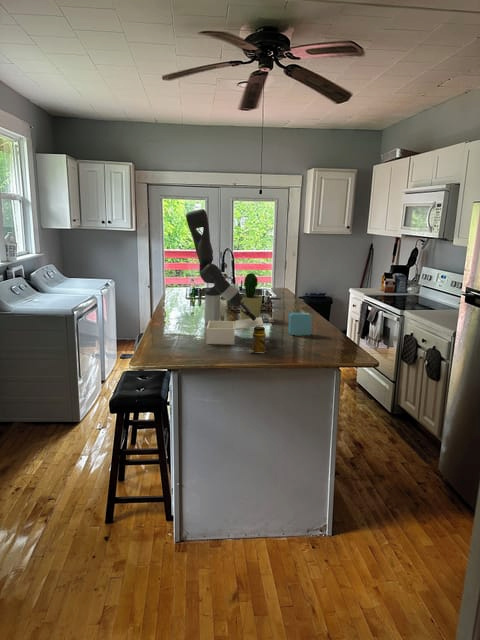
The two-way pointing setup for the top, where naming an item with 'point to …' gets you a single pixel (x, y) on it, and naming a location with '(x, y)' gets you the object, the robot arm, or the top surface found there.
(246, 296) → the potted cactus
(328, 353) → the top surface
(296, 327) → the data package
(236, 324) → the lid
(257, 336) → the condiment
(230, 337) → the box
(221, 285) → the robot arm
